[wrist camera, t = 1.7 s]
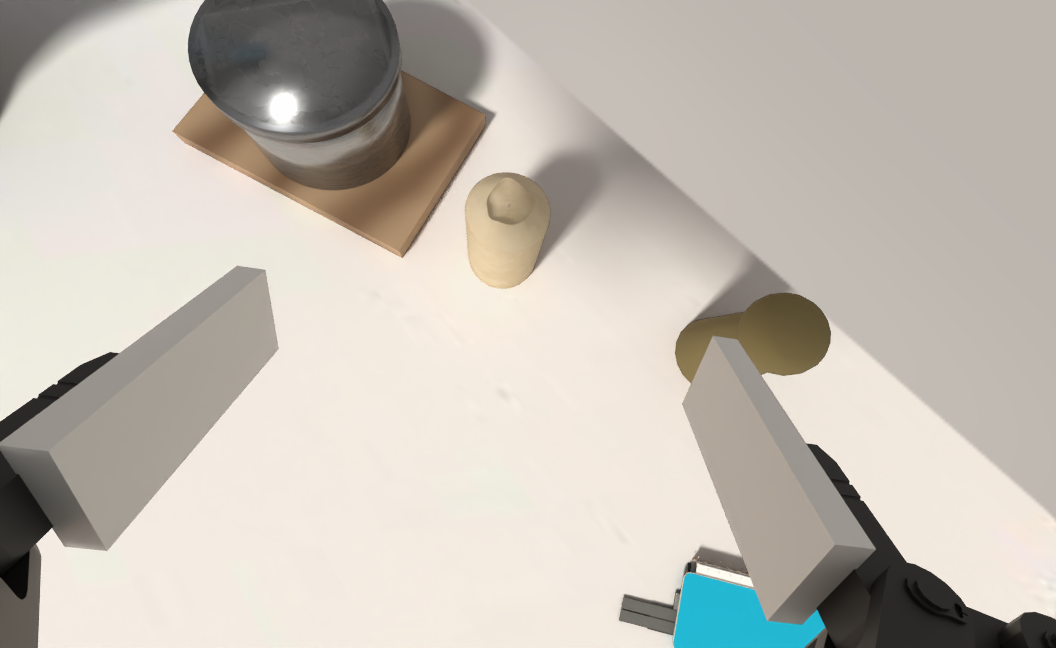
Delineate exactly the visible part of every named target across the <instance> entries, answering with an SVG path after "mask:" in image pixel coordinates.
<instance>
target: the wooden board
mask: <svg viewBox="0 0 1056 648" xmlns="http://www.w3.org/2000/svg"><path fill="white" fill-rule="evenodd" d="M400 74H401V78H402V82H403V86H404V91H405V95H406V99H407V103H408V108H409V112H410V119H411V129H410V136H409V140H408V143H407V146H406V148H405V150H404V152H403V154H402V155H401V157H400V158H399V160H398V161H397V162H396V164H395V165H394V166H393V167H392V168H391V169H390V170H389V171H387V172H386V173H385V174H383V175H382V176H381V177H379V178H377V179H376V180H374V181H372V182H370V183H367V184H365V185H363V186H359V187H356V188H352V189H346V190H334V191H331V190H320V189H314V188H310V187H307V186H304V185H301V184H299V183H297V182H294V181H292V180H291V179H289V178H287V177H286V176H284V175H283V174H282V173H281V172H279V171H278V170H277V169H276V168H275V167H274V166H273V165H272V164H271V163H270V162H269V160H268V159H267V158H266V157H265V155H264V154H263V153H262V152H261V151H260V149H259V148H258V147H257V146H256V144H255V143H254V142H253V141H252V140H251V138H250V137H249V136H248V135H247V134H246V132H245V131H244V130H243V129H242V128H240V127H239V126H237V125H236V124H234V123H233V122H232V121H230V120H229V119H228V118H227V117H225V116H224V115H223V114H222V113H221V111H220V110H219V109H218V108H217V107H216V106H215V105H214V104H213V102H212V101H211V100H210V99H209V98H208V97H207V95H206V94H205V93H204V94H203V95H202V96H201V97H200V99H199V100H198V101H197V102H196V103H195V105H194V106H193V107H192V108H191V109H190V111H189V112H188V113H187V114H186V115H185V117H184V118H183V119H182V120H181V121H180V123H179V124H178V125H177V126H176V127H175V129H174V130H173V132H174V133H175V134H176V135H177V136H178V137H179V138H180V139H181V140H182V141H183V142H185V143H186V144H188V145H190V146H192V147H194V148H196V149H198V150H200V151H201V152H203V153H205V154H207V155H209V156H211V157H213V158H215V159H217V160H218V161H220V162H222V163H224V164H226V165H228V166H230V167H232V168H234V169H235V170H237V171H239V172H241V173H243V174H245V175H247V176H249V177H251V178H252V179H254V180H256V181H258V182H260V183H262V184H264V185H266V186H268V187H269V188H271V189H273V190H275V191H277V192H279V193H281V194H283V195H285V196H286V197H288V198H290V199H292V200H294V201H296V202H298V203H300V204H302V205H303V206H305V207H307V208H309V209H311V210H313V211H315V212H317V213H319V214H320V215H322V216H324V217H326V218H328V219H330V220H332V221H334V222H336V223H337V224H339V225H341V226H343V227H345V228H347V229H349V230H351V231H353V232H354V233H356V234H358V235H360V236H362V237H364V238H366V239H368V240H370V241H371V242H373V243H375V244H377V245H379V246H381V247H383V248H385V249H387V250H388V251H390V252H392V253H394V254H396V255H398V256H400V257H403V256H404V254H405V253H406V251H407V249H408V248H409V246H410V245H411V243H412V242H413V240H414V238H415V237H416V235H417V234H418V232H419V230H420V229H421V227H422V226H423V224H424V223H425V221H426V219H427V218H428V216H429V215H430V213H431V211H432V210H433V208H434V207H435V205H436V203H437V202H438V200H439V199H440V197H441V196H442V194H443V192H444V191H445V189H446V188H447V186H448V184H449V183H450V181H451V180H452V178H453V176H454V175H455V173H456V172H457V170H458V169H459V167H460V165H461V164H462V162H463V161H464V159H465V157H466V156H467V154H468V153H469V151H470V149H471V148H472V146H473V145H474V143H475V142H476V140H477V138H478V137H479V135H480V134H481V132H482V130H483V129H484V127H485V114H483V113H481V112H479V111H477V110H475V109H473V108H471V107H470V106H468V105H466V104H464V103H462V102H460V101H458V100H456V99H454V98H452V97H451V96H449V95H447V94H445V93H443V92H441V91H439V90H437V89H435V88H433V87H432V86H430V85H428V84H426V83H424V82H422V81H420V80H418V79H416V78H414V77H412V76H411V75H409V74H407V73H405V72H403V71H401V73H400Z"/></svg>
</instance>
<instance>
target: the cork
mask: <svg viewBox="0 0 1056 648" xmlns="http://www.w3.org/2000/svg"><path fill="white" fill-rule="evenodd" d="M713 336H717V337H724V338H731V339H737V340H738V341H739V343H740V344H741V346H742V347H743V349H744V350H745V352H746V353H747V355H748V356H749V358H750V359H751V361H752V362H753V364H754V365H755V367H756V368H757V370H758V371H759V373H760V374H761V375H762V374H765V373H767V372H768V373H772V374H777V375H782V376H785V375H793V374H800V373H803V372H805V371H807V370H809V369H811V368H813V367H814V366H816V365H818V364H819V362H820V361H821V360H822V359H823V358H824V356H825V355H826V353H827V350H828V347H829V345H830V337H831V331H830V327H829V323H828V320H827V318H826V317H825V315H824V313H823V312H822V310H821V309H820V308H819V307H818V306H817V305H816V304H814V303H813V302H812V301H810V300H808V299H806V298H804V297H802V296H800V295H796V294H792V293H777V294H769V295H767V296H765V297H763V298H761V299H759V300H757V301H755V302H754V303H753V304H752V305H751V306H750V307H749V308H748V309H747V310H746V311H745V312H740V313H734V314H729V315H723V316H718V317H712V318H707V319H701V320H697V321H695V322H693V323H691V324H689V325H687V326H686V328H685V329H684V330H683V331H682V332H681V333H680V335H679V338H678V340H677V342H676V351H675V355H676V360H677V365H678V366H679V368H680V370H681V372H682V374H683V375H684V376H685V377H686V379H687V380H688V381H689V382H690V383H692V381H693V379H694V377H695V374H696V372H697V370H698V368H699V366H700V363H701V361H702V359H703V357H704V354H705V352H706V350H707V348H708V346H709V343H710V341H711V339H712V337H713Z"/></svg>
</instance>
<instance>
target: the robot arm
mask: <svg viewBox="0 0 1056 648" xmlns="http://www.w3.org/2000/svg"><path fill="white" fill-rule="evenodd" d="M278 349H279V348H278V342H277V336H276V331H275V325H274V319H273V313H272V307H271V301H270V295H269V289H268V283H267V277H266V271H265V270H262V269H255V268H248V267H242V266H237V267H235V268H234V269H232V270H231V271H230V272H228V273H227V274H226V275H224V276H223V277H222V278H220V279H219V280H218V281H216V282H215V283H214V284H212V285H211V286H210V287H208V288H207V289H206V290H204V291H203V292H202V293H200V294H199V295H197V296H196V297H195V298H193V299H192V300H191V301H189V302H188V303H187V304H185V305H184V306H183V307H181V308H180V309H179V310H177V311H176V312H175V313H173V314H172V315H171V316H169V317H168V318H167V319H165V320H164V321H163V322H161V323H160V324H158V325H157V326H156V327H154V328H153V329H152V330H150V331H149V332H148V333H146V334H145V335H144V336H142V337H141V338H140V339H138V340H137V341H136V342H134V343H133V344H132V345H130V346H129V347H128V348H126V349H125V350H124V351H122V352H121V353H113V352H109V353H107V354H105V355H103V356H100V357H98V358H96V359H93V360H91V361H89V362H86V363H84V364H82V365H80V366H78V367H77V368H76V369H74V370H73V371H71V372H70V373H69V374H67V375H66V376H64V377H63V378H61V379H60V380H59V381H58V384H57V385H54V384H53V385H52V386H50V387H49V388H47V389H46V390H44V391H43V392H42V393H40V394H39V397H38V398H37V399H36V398H33V399H32V400H30V401H29V402H27V403H26V404H25V405H23V406H22V407H20V408H19V409H18V410H16V411H15V412H13V413H12V414H10V415H9V416H8V417H6V418H5V419H3V420H2V421H1V422H0V648H38V627H39V601H40V575H41V554H40V552H39V549H38V547H37V545H36V543H37V542H38V541H39V540H40V539H41V538H42V537H43V536H44V535H45V534H46V533H47V532H48V531H49V530H50V529H51V528H53V530H54V531H55V533H56V534H57V536H58V537H59V539H60V540H61V542H62V543H63V545H64V546H66V547H75V548H85V549H94V550H104V551H107V550H108V549H109V548H110V547H111V546H112V545H113V543H114V542H115V541H116V540H117V539H118V537H119V536H120V535H121V534H122V533H123V532H124V530H125V529H126V528H127V527H128V526H129V524H130V523H131V522H132V521H133V520H134V519H135V517H136V516H137V515H138V514H139V513H140V512H141V510H142V509H143V508H144V507H145V506H146V504H147V503H148V502H149V501H150V500H151V499H152V497H153V496H154V495H155V494H156V493H157V491H158V490H159V489H160V488H161V487H162V486H163V484H164V483H165V482H166V481H167V480H168V479H169V477H170V476H171V475H172V474H173V473H174V471H175V470H176V469H177V468H178V467H179V466H180V464H181V463H182V462H183V461H184V460H185V459H186V457H187V456H188V455H189V454H190V453H191V451H192V450H193V449H194V448H195V447H196V446H197V444H198V443H199V442H200V441H201V440H202V438H203V437H204V436H205V435H206V434H207V433H208V431H209V430H210V429H211V428H212V427H213V426H214V424H215V423H216V422H217V421H218V420H219V418H220V417H221V416H222V415H223V414H224V413H225V411H226V410H227V409H228V408H229V407H230V405H231V404H232V403H233V402H234V401H235V400H236V398H237V397H238V396H239V395H240V394H241V393H242V391H243V390H244V389H245V388H246V387H247V385H248V384H249V383H250V382H251V381H252V380H253V378H254V377H255V376H256V375H257V374H258V373H259V371H260V370H261V369H262V368H263V367H264V365H265V364H266V363H267V362H268V361H269V360H270V358H271V357H272V356H273V355H274V354H275V352H276V351H277V350H278ZM682 405H683V407H684V410H685V412H686V415H687V418H688V420H689V423H690V425H691V428H692V430H693V433H694V435H695V438H696V441H697V443H698V446H699V448H700V451H701V453H702V456H703V458H704V461H705V464H706V466H707V469H708V471H709V474H710V476H711V479H712V481H713V484H714V486H715V489H716V492H717V494H718V497H719V499H720V502H721V504H722V507H723V509H724V512H725V515H726V517H727V520H728V522H729V525H730V527H731V530H732V532H733V535H734V538H735V540H736V543H737V545H738V548H739V550H740V553H741V555H742V558H743V561H744V563H745V566H746V568H747V571H748V573H749V576H750V578H751V581H752V584H753V586H754V589H755V591H756V594H757V596H758V599H759V601H760V604H761V606H762V609H763V612H764V614H765V617H766V619H767V621H772V622H781V623H791V624H800V625H802V624H803V623H804V622H805V621H806V620H807V619H808V618H809V617H810V616H811V615H812V614H813V613H814V612H815V611H816V610H817V611H818V613H819V615H820V617H821V619H822V621H823V623H824V625H825V628H824V629H823V630H822V631H821V632H820V633H819V634H818V635H817V636H816V637H815V638H814V639H813V640H812V641H811V642H810V643H809V644H807V645H806V646H805V647H804V648H1056V620H1055V619H1053V618H1052V617H1049V616H1046V615H1043V614H1040V613H1037V612H1027V613H1023V614H1022V615H1020V616H1019V617H1017V618H1016V619H1014V620H1013V621H1011V622H1010V623H1006V622H1003V621H1001V620H998V619H996V618H993V617H991V616H988V615H986V614H983V613H981V612H979V611H976V610H974V609H971V608H969V607H966V605H965V604H964V602H963V601H962V599H961V598H960V597H959V596H958V595H957V594H956V593H955V592H954V591H953V590H952V589H951V588H950V587H949V586H948V585H947V584H946V583H945V582H943V581H942V580H941V579H939V578H938V577H937V576H935V575H934V574H932V573H931V572H929V571H927V570H925V569H923V568H921V567H919V566H917V565H915V564H911V563H907V562H906V561H905V559H904V558H903V557H902V555H901V554H900V552H899V551H898V549H897V548H896V547H895V545H894V544H893V542H892V541H891V540H890V538H889V537H888V535H887V534H886V532H885V531H884V530H883V528H882V527H881V525H880V524H879V522H878V521H877V520H876V518H875V517H874V515H873V514H872V513H871V511H870V510H869V508H868V507H867V505H866V504H865V503H864V501H861V500H860V495H859V494H858V493H857V491H856V490H855V488H854V487H853V485H850V484H849V482H850V481H849V480H848V478H847V477H846V476H845V474H844V473H843V471H842V470H841V468H840V467H839V466H838V464H837V463H836V462H835V461H834V460H833V459H832V458H831V457H830V456H829V455H828V454H826V453H825V452H824V451H823V450H822V449H821V448H820V447H819V446H818V445H814V444H806V443H805V441H804V440H803V438H802V436H801V435H800V433H799V432H798V430H797V429H796V427H795V426H794V424H793V423H792V421H791V420H790V418H789V417H788V415H787V414H786V412H785V411H784V409H783V408H782V406H781V405H780V403H779V402H778V400H777V399H776V397H775V396H774V394H773V393H772V391H771V390H770V388H769V387H768V385H767V384H766V382H765V381H764V379H763V377H762V376H761V374H760V373H759V371H758V370H757V368H756V367H755V365H754V364H753V362H752V361H751V359H750V358H749V356H748V355H747V353H746V352H745V350H744V349H743V347H742V346H741V344H740V343H739V341H738V340H737V339H731V338H724V337H717V336H713V337H712V339H711V341H710V343H709V346H708V348H707V350H706V352H705V354H704V357H703V359H702V361H701V363H700V366H699V368H698V370H697V372H696V374H695V377H694V379H693V381H692V383H691V385H690V388H689V390H688V392H687V394H686V397H685V399H684V401H683V403H682Z"/></svg>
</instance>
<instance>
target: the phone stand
mask: <svg viewBox="0 0 1056 648" xmlns="http://www.w3.org/2000/svg"><path fill="white" fill-rule="evenodd" d="M698 558H699V556H698ZM698 558H697V560H698ZM693 559H694V558H693ZM693 559H692V560H693ZM697 560H696V559H694V560H693V561H695V562H696V564H697V568H696V573H692V572H690V570H691V563H688V566H687V572H686V574H685V575H684V577H683V581H682V587H681V593H677V592H676V593H675V599H674V605H673V609H672V608H668V607H664V606H660V605H657V604H653V603H652V604H648V603H644V602H640V601H636V600H633V599H629V598H625V597H623V602H622V607H621V608H623V609H627V610H631V611H635V612H639V613H643V614H647V615H650V616H649V617H648V616H644V615H640V614H636V613H633V612H629V611H625V610H621V612H620V617H619V621H623V622H627V623H631V624H635V625H638V626H642V627H646V628H647V629H651V630H654V631H658V632H662V633H666V634H670V635H673V641H672V644H673V647H674V648H804V647H805V646H806V645H807V644H809V643H810V642H811V641H812V640H813V639H814V638H815V637H816V636H817V635H818V634H819V633H820V632H821V631H822V630H823V629H824V628H825V625H824V623H823V621H822V619H821V617H820V615H819V613H818V611H817V610H816V611H815V612H814V613H813V614H812V615H811V616H810V617H809V618H808V619H807V620H806V621H805V622H804V623H803V624H802V625H800V624H791V623H781V622H772V621H767V619H766V617H765V614H764V612H763V609H762V606H761V604H760V601H759V599H758V596H757V594H756V591H755V589H754V586H753V584H752V581H751V578H750V576H749V574H748V573H742V572H740V571H738V570H737V571H735V570H731V567H732V565H731V567H730V569H729V568H727V567H726V568H723V567H720V564H721V562H720V564H719V566H718V565H716V564H715V565H712V564H708V563H709V561H710V559H709V561H708V563H707V562H705V561H704V562H701V561H697ZM742 569H743V568H742ZM741 571H742V570H741ZM703 575H704V576H703ZM722 580H723V581H722Z"/></svg>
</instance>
